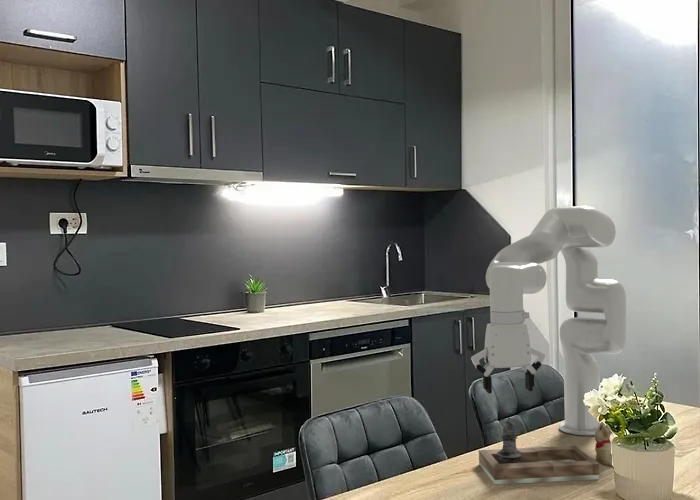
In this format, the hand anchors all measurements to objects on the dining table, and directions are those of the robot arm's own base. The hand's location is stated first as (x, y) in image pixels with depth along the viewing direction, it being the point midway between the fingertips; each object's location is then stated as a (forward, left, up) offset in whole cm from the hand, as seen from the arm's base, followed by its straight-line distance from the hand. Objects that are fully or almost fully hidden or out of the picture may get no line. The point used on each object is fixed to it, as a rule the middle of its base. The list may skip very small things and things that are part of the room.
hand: (508, 391), depth 168 cm
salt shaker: (0, 0, -18) cm, 18 cm away
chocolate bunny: (-25, -5, -19) cm, 32 cm away
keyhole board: (-6, 0, -19) cm, 20 cm away
